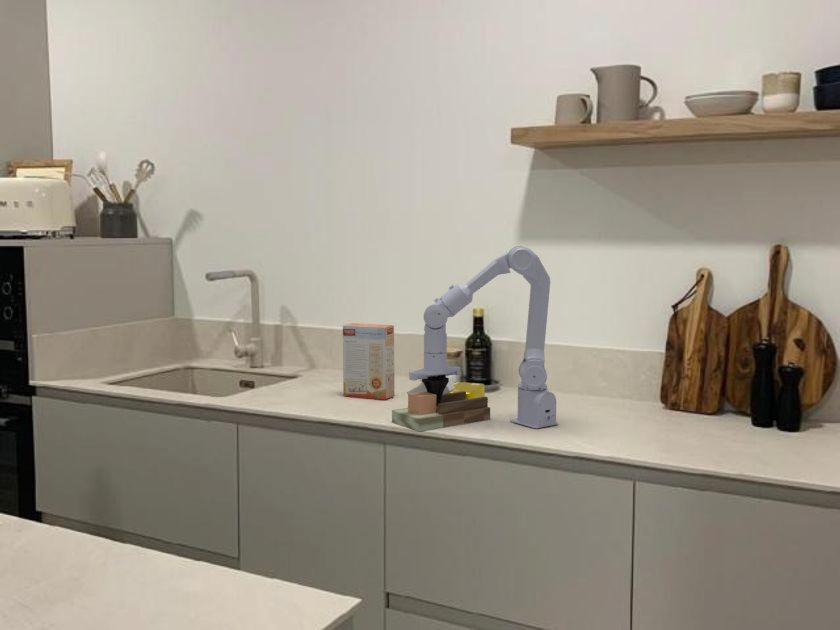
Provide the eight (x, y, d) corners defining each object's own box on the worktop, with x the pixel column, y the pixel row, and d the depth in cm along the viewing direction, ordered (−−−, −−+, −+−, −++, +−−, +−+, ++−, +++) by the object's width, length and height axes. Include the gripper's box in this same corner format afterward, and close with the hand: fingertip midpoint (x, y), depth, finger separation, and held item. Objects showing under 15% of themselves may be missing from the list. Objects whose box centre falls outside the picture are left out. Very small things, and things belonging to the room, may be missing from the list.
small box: (416, 410, 219) (450, 391, 217) (405, 392, 220) (439, 373, 217) (423, 407, 227) (456, 388, 225) (413, 389, 227) (446, 370, 225)
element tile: (419, 404, 231) (419, 387, 231) (437, 394, 245) (437, 378, 245) (471, 409, 226) (471, 391, 226) (486, 398, 240) (486, 382, 240)
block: (436, 412, 206) (436, 394, 206) (419, 415, 203) (419, 397, 203) (424, 408, 210) (424, 391, 210) (408, 411, 207) (408, 393, 207)
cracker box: (395, 396, 240) (395, 324, 238) (385, 400, 235) (385, 326, 233) (353, 392, 246) (352, 322, 244) (342, 396, 241) (342, 324, 239)
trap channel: (490, 419, 212) (490, 397, 212) (419, 431, 200) (419, 408, 199) (460, 410, 222) (461, 390, 221) (391, 421, 209) (391, 400, 209)
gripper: (448, 347, 215) (448, 399, 217) (402, 352, 207) (402, 406, 208) (465, 351, 209) (465, 404, 211) (418, 356, 201) (418, 411, 203)
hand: (435, 405), depth 209 cm, fingers closed
